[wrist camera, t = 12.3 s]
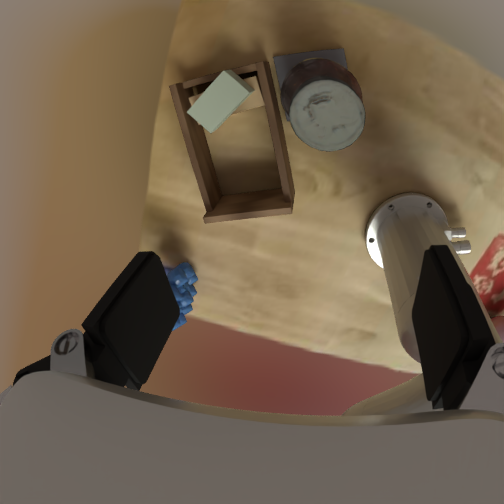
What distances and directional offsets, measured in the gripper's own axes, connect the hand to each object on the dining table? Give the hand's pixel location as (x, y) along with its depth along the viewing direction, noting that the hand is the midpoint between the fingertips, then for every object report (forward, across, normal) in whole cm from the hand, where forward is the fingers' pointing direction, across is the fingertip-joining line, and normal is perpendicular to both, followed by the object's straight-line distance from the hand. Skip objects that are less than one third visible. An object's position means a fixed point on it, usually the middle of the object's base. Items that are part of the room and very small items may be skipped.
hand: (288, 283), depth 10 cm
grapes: (+29, +22, +21) cm, 42 cm away
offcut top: (+25, +9, -5) cm, 27 cm away
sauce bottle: (+28, -1, -5) cm, 28 cm away
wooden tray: (+28, +9, 0) cm, 30 cm away
